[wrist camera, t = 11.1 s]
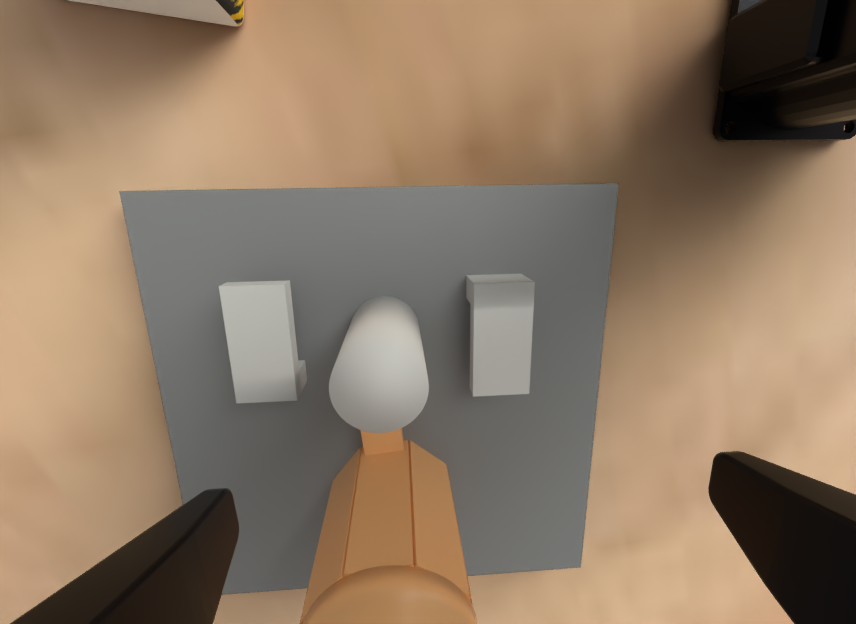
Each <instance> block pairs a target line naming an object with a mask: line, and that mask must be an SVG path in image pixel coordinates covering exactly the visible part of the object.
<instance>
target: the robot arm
mask: <svg viewBox="0 0 856 624" xmlns="http://www.w3.org/2000/svg"><path fill="white" fill-rule="evenodd" d="M727 124H728V125H729V132H728V133H726V132H725V127H726V125H727ZM844 125H845V130H844ZM713 135H714V137H715V139H716V140H718V141H721V142H736V141H838V140H845V139H850V138H852V137H853V136H855V135H856V0H732V7H731V13H730V20H729V23H728V29H727V36H726V43H725V49H724V56H723V62H722V69H721V76H720V82H719V93H718V100H717V106H716V113H715V119H714V126H713ZM709 496H710V499H711V502H712V504H713V505H714V507H715V508H716V510H717V512H718V513H719V515H720V516H721V518H722V519H723V521H724V522H725V524H726V526H727V527H728V529H729V530H730V532H731V533H732V535H733V536H734V538H735V539H736V541H737V543H738V544H739V546H740V547H741V549H742V550H743V552H744V553H745V555H746V557H747V558H748V560H749V561H750V563H751V564H752V566H753V567H754V569H755V570H756V572H757V573H758V575H759V576H760V578H761V579H762V581H763V582H764V584H765V585H766V587H767V588H768V589H769V591H770V592H771V593H772V595H773V596H774V598H775V599H776V600H777V602H778V603H779V604H780V606H781V607H782V608H783V609H784V611H785V612H786V613H787V615H788V616H789V617H790V619H791V620H792V621H793V623H794V624H856V495H855V494H852V493H850V492H847V491H844V490H842V489H839V488H836V487H834V486H831V485H828V484H826V483H823V482H821V481H818V480H815V479H813V478H810V477H807V476H805V475H802V474H799V473H797V472H794V471H792V470H789V469H786V468H784V467H781V466H778V465H776V464H773V463H770V462H768V461H765V460H763V459H760V458H757V457H755V456H752V455H749V454H747V453H744V452H740V451H733V452H720V453H718V454H716V456H715V457H714V459H713V464H712V470H711V476H710V482H709ZM238 537H239V522H238V517H237V512H236V508H235V503H234V498H233V494H232V492H231V490H230V489H228V488H218V489H207V490H204V491H203V492H201V493H200V494H198V495H197V496H195V497H194V498H193V499H191V500H190V501H188V502H187V503H185V504H184V505H182V506H181V507H179V508H178V509H176V510H175V511H174V512H172V513H171V514H169V515H168V516H166V517H165V518H163V519H162V520H160V521H159V522H158V523H156V524H155V525H153V526H152V527H150V528H149V529H147V530H146V531H144V532H143V533H142V534H140V535H139V536H137V537H136V538H134V539H133V540H131V541H130V542H128V543H127V544H125V545H124V546H123V547H121V548H120V549H118V550H117V551H115V552H114V553H112V554H111V555H109V556H108V557H107V558H105V559H104V560H102V561H101V562H99V563H98V564H96V565H95V566H93V567H92V568H90V569H89V570H88V571H86V572H85V573H83V574H82V575H80V576H79V577H77V578H76V579H74V580H73V581H72V582H70V583H69V584H67V585H66V586H64V587H63V588H61V589H60V590H58V591H57V592H55V593H54V594H53V595H51V596H50V597H48V598H47V599H45V600H44V601H42V602H41V603H39V604H38V605H37V606H35V607H34V608H32V609H31V610H29V611H28V612H26V613H25V614H23V615H22V616H20V617H19V618H18V619H16V620H15V621H13V622H12V623H10V624H213V621H214V618H215V615H216V611H217V608H218V605H219V601H220V598H221V594H222V591H223V588H224V584H225V581H226V578H227V574H228V571H229V568H230V564H231V561H232V558H233V554H234V551H235V548H236V544H237V541H238Z"/></svg>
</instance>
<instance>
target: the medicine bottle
mask: <svg viewBox="0 0 856 624" xmlns="http://www.w3.org/2000/svg"><path fill="white" fill-rule="evenodd" d="M68 1H74V2H81V3H87V4H93V5H100V6H106V7H113V8H119V9H126V10H132V11H139V12H145V13H151V14H158V15H164V16H171V17H177V18H184V19H190V20H197V21H203V22H209V23H216V24H222V25H229V26H240V25H241V24H242V23H243V20H244V0H68Z"/></svg>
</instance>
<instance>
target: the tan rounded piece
mask: <svg viewBox="0 0 856 624" xmlns="http://www.w3.org/2000/svg"><path fill="white" fill-rule="evenodd" d="M361 436H362V442H363V446H362V448H359V449H358V450H357V452H356V453H355V454H354V455H353V456H352V458H351V459H350V460H349V461H348V462H347V464H346V465H345V466H344V467H343V468H342V470H341V471H340V472H339V473H338V474H337V476H336V477H335V478H334V479H333V482H332V486H331V490H330V495H329V499H328V503H327V508H326V512H325V516H324V521H323V525H322V529H321V534H320V538H319V542H318V547H317V551H316V555H315V560H314V564H313V568H312V573H311V577H310V581H309V586H308V590H307V594H306V599H305V603H304V607H303V612H302V616H301V620H300V624H477V620H476V615H475V612H474V609H473V606H472V600H471V593H470V588H469V583H468V577H467V572H466V566H465V561H464V556H463V550H462V545H461V539H460V534H459V529H458V523H457V518H456V512H455V507H454V502H453V496H452V491H451V485H450V480H449V475H448V469H447V465H446V464H445V463H444V462H442V461H441V460H439V459H438V458H436V457H435V456H433V455H432V454H430V453H429V452H427V451H426V450H424V449H423V448H421V447H420V446H418V445H417V444H415V443H414V442H412V441H411V440H410V441H409V442H408V440H404V438H403V431H402V428H400V429H398V430H395V431H391V432H386V433H371V432H366V431H362V430H361Z"/></svg>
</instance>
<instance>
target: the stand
mask: <svg viewBox="0 0 856 624" xmlns="http://www.w3.org/2000/svg"><path fill="white" fill-rule="evenodd" d="M618 185H619V183H611V184H547V185H483V186H419V187H355V188H291V189H227V190H163V191H119V192H120V197H121V202H122V206H123V211H124V216H125V221H126V226H127V231H128V236H129V241H130V246H131V251H132V256H133V260H134V265H135V270H136V275H137V280H138V285H139V290H140V295H141V300H142V305H143V310H144V314H145V319H146V324H147V329H148V334H149V339H150V344H151V349H152V354H153V359H154V364H155V368H156V373H157V378H158V383H159V388H160V393H161V398H162V403H163V408H164V413H165V418H166V422H167V427H168V432H169V437H170V442H171V447H172V452H173V457H174V462H175V467H176V471H177V476H178V481H179V486H180V491H181V496H182V501H183V505H184V504H185V503H187V502H188V501H190V500H191V499H193V498H194V497H195V496H197V495H198V494H200V493H201V492H203V491H204V490H207V489H218V488H228V489H230V490H231V492H232V494H233V498H234V503H235V508H236V512H237V517H238V522H239V537H238V541H237V544H236V548H235V551H234V554H233V558H232V561H231V564H230V568H229V571H228V574H227V578H226V581H225V584H224V588H223V591H222V594H221V595H224V594H237V593H250V592H263V591H276V590H290V589H303V588H308V586H309V581H310V577H311V573H312V568H313V564H314V560H315V555H316V551H317V547H318V542H319V538H320V534H321V529H322V525H323V521H324V516H325V512H326V508H327V503H328V499H329V495H330V490H331V486H332V482H333V479H334V478H335V477H336V476H337V474H338V473H339V472H340V471H341V470H342V468H343V467H344V466H345V465H346V464H347V462H348V461H349V460H350V459H351V458H352V456H353V455H354V454H355V453H356V452H357V450H358V449H359V448H362V446H363V442H362V436H361V430H362V431H366V432H371V433H386V432H391V431H395V430H398V429H400V428H402V431H403V438H404V440H408V442H409V441H410V440H411V441H412V442H414V443H415V444H417V445H418V446H420V447H421V448H423V449H424V450H426V451H427V452H429V453H430V454H432V455H433V456H435V457H436V458H438V459H439V460H441V461H442V462H444V463H445V464H446V465H447V469H448V475H449V480H450V485H451V491H452V496H453V502H454V507H455V512H456V518H457V523H458V529H459V534H460V539H461V545H462V550H463V556H464V561H465V566H466V572H467V576H474V575H487V574H500V573H513V572H526V571H539V570H553V569H566V568H579V567H581V559H582V549H583V539H584V529H585V519H586V509H587V499H588V488H589V478H590V468H591V458H592V448H593V438H594V428H595V418H596V408H597V398H598V387H599V377H600V367H601V357H602V347H603V337H604V327H605V317H606V307H607V296H608V286H609V276H610V266H611V256H612V246H613V236H614V226H615V216H616V206H617V195H618Z"/></svg>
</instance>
